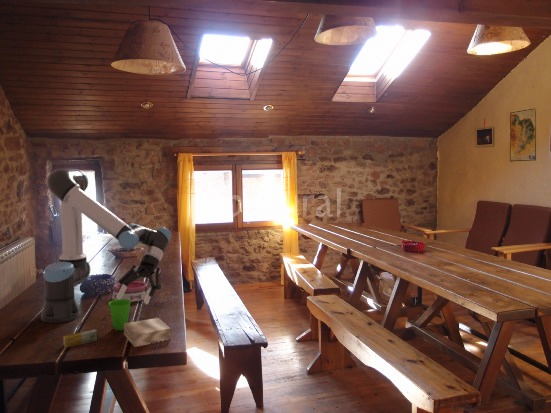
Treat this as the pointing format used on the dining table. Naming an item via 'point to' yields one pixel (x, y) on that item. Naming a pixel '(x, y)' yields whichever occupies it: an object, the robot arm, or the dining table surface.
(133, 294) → the dog bowl
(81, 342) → the medication box
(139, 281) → the natural sponge
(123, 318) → the cup
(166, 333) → the birch block
